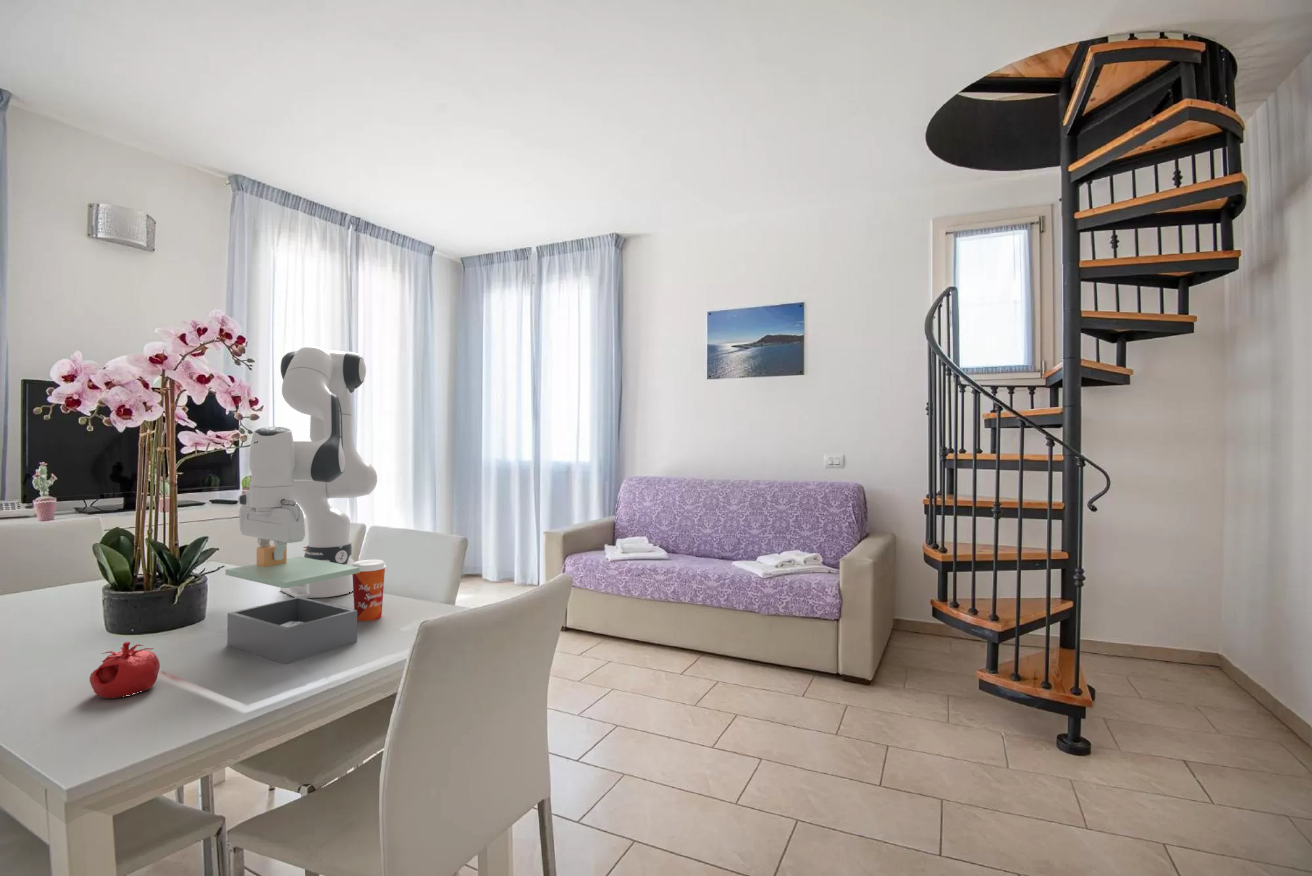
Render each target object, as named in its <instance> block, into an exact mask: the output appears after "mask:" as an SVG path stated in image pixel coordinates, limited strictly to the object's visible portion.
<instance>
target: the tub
mask: <svg viewBox="0 0 1312 876" xmlns="http://www.w3.org/2000/svg"><path fill="white" fill-rule="evenodd" d="M290 621H294V622H306V623H302V624H299V625H295V626H291V627H284V626H280V625H282V624H285V623H287V622H290ZM226 623H227V628H226V629H227V631H226V632H227V636H226V637H227V642H226V644H227V646H229V647H232V648H234V649H235V648H236V649H238V650H241V651H245V652H246V653H251V654H254V655H256V656H259V657H262V658H265V659H268V660H272V661H274V662H277V663H280V664H283V665H287V664H290V663H294V662H297V661H301V660H303V659H306V658H309V657H313V656H315V655H320V654H322V653H325V652H326V653H327V652H328V651H331V650H336V649H338V648H341V647H344V646H348V645H350V644H355V643H357V642H358V620H357V610H354V609H352V608H349V607H345V606H341V605H336V604H332V603H327V602H323V601H320V600H314V599H312V598H303V597H296V598H295V597H292V598H287V599H284V600H280V601H275V602H271V603H270V602H269V603H266V604H262V605H257V606H252V607H248V608H244V609H239V610H235V611H230V612H227V622H226Z"/></svg>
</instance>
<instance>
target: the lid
mask: <svg viewBox="0 0 1312 876" xmlns="http://www.w3.org/2000/svg"><path fill="white" fill-rule="evenodd" d="M275 546H276V545H274V544H273V545H270V546H265V547H258V546H257V547H256V564H248V565H245V566H244V565H243V566H237V567H232V568H226V569H225V570H224V571H225V576H229V577H234V578H237V579H242V580H246V581H250V582H254V583H258V584H262V585H268V586H272V587H277V588H280V589H281V588H290V587H295V586H300V585H304V584H309V583H314V582H319V581H323V580H328V579H333V578H337V577H342V576H347V575H352V574H356V573H360V567H354V566H349V565H343V564H338V563H332V562H327V561H321V560H316V559H310V558H305V557H304V556H297V557H296V556H295V557H291V558H290V557H289V558H288V557H287V556H288V555H287V554H288V553H287V551H288V550H287V546H288V545H286V548H285V550H284V555H283V559H282V560H273V559H272V552H274V550H275Z"/></svg>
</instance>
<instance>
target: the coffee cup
mask: <svg viewBox="0 0 1312 876" xmlns="http://www.w3.org/2000/svg"><path fill="white" fill-rule="evenodd" d="M352 566H354V567H360V573H356V574H352V576H353V592H352V593H353V595H352V596H353V608H354V610H357V622H369V621H370V622H371V621H374V620H378V619H380V618H382V615H383V603H384V602H383V601H384V589H385V588H384V585H385V572H386V569H385V568H387V565H386V563H385V561H384V560H382V559H364V560H357V561H354V563H353V565H352Z"/></svg>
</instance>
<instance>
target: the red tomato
mask: <svg viewBox="0 0 1312 876" xmlns="http://www.w3.org/2000/svg"><path fill="white" fill-rule="evenodd" d="M130 645H131V642H130V641H125V642H124V643H123V644H122V647H120V650H121V651H118V652H116V651H113V650H110V651H106V652H102V653H101V655H103V654H109V655H108V656H107V657H105V658H104V659H103V660H101V662H102V664H101V665H99V666H98V667H97V668H96V669H95V670H93V671H92V672H91V674H90V676H89V683H90V685H91V688H92V691H93V693H94V694H96V695H97V696H99V697H101V698H103V697H105V698H104V699H110V698H112V699H114V698H113V697H122V698H124V697H123V696H126V695H132V694H133V693H137V692H140V691H144V690H146V691H147V689H148V690H150V689H152V687H153V686H154V685H155V683H156V681H157V680H158V675H159V672H160V668H161V664H160V661H159V658H158V656H157V655H156V654H155V653H154V652H153V651H151V650H153V649H155V647H152V648H149V647H145V648H141V649H138V650H137V649H136V648H137V647H142V646H144V644H139V643H137V644H135V645H134V646H131V647H130ZM144 692H145V691H144ZM137 694H138V693H137Z"/></svg>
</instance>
